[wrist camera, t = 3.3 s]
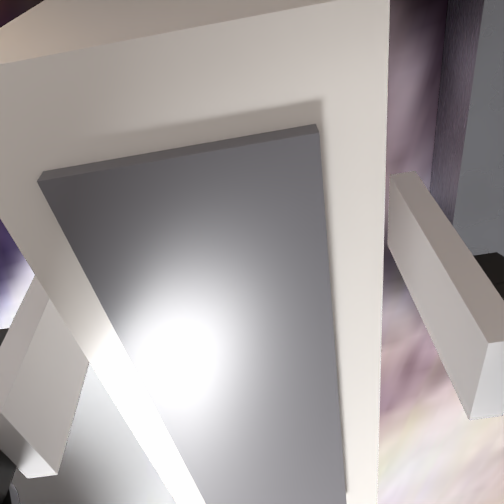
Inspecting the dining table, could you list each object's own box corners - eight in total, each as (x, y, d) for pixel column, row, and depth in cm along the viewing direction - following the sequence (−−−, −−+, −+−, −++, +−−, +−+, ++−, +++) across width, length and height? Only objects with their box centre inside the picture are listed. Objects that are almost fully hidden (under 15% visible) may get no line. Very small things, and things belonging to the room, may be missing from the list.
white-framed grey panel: (204, 314, 23) (194, 544, 15) (91, -30, 14) (-99, 89, 6) (323, 296, 23) (379, 522, 14) (291, -70, 13) (397, -6, 5)
